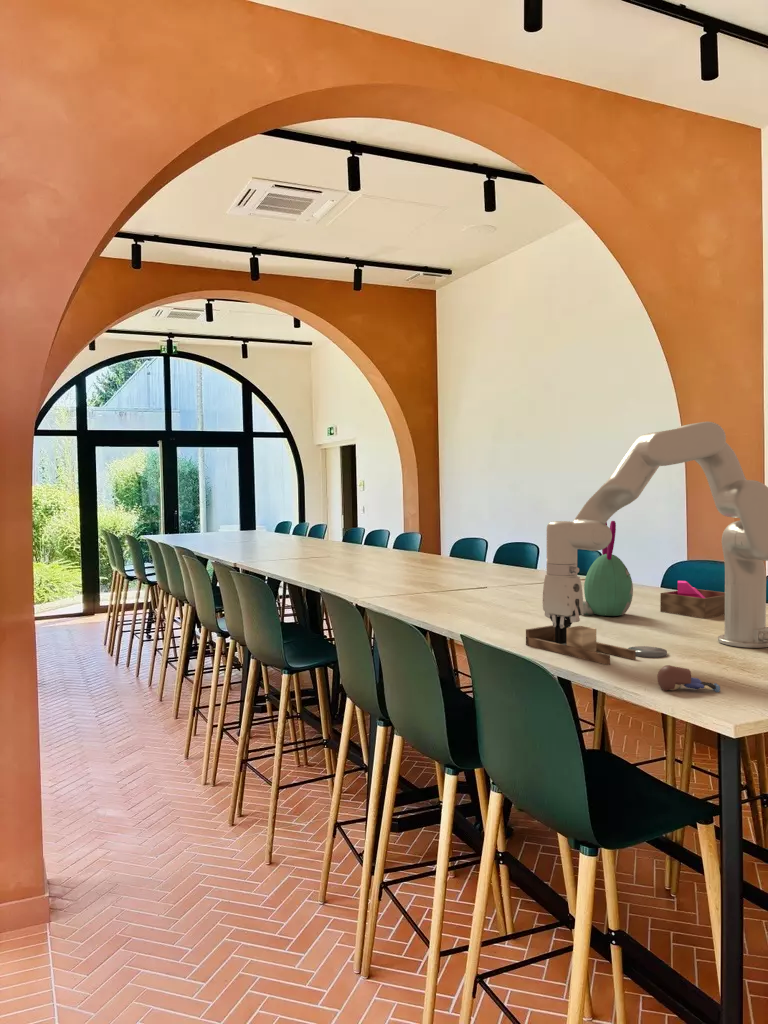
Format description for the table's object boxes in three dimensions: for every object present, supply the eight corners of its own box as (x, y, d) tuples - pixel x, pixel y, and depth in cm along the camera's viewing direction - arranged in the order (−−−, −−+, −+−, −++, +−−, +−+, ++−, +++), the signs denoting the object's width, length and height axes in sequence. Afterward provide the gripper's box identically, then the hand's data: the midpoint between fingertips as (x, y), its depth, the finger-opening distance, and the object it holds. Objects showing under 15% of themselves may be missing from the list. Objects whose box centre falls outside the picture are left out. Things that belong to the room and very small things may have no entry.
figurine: (712, 696, 149) (652, 685, 150) (716, 671, 149) (656, 661, 150) (721, 704, 144) (659, 693, 145) (725, 678, 144) (663, 667, 145)
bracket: (677, 614, 235) (677, 582, 235) (677, 609, 245) (677, 578, 245) (718, 617, 231) (719, 584, 231) (717, 611, 240) (717, 580, 240)
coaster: (674, 654, 178) (675, 651, 178) (651, 659, 173) (651, 656, 173) (643, 647, 185) (643, 644, 185) (619, 652, 180) (619, 649, 180)
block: (596, 653, 180) (596, 628, 180) (582, 655, 177) (582, 631, 177) (580, 649, 184) (580, 625, 184) (566, 652, 182) (566, 627, 181)
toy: (639, 619, 226) (639, 521, 225) (583, 618, 226) (583, 521, 225) (625, 610, 241) (625, 518, 240) (573, 610, 241) (573, 519, 240)
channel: (635, 658, 174) (635, 641, 174) (607, 664, 168) (607, 647, 168) (553, 640, 195) (553, 625, 195) (525, 644, 190) (525, 629, 190)
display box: (736, 612, 236) (736, 594, 236) (703, 618, 226) (704, 598, 226) (692, 606, 249) (692, 588, 248) (660, 611, 239) (660, 592, 239)
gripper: (595, 572, 181) (595, 646, 182) (550, 566, 194) (550, 636, 195) (574, 574, 177) (574, 650, 178) (529, 568, 190) (529, 639, 190)
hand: (561, 642), depth 186 cm, fingers closed
